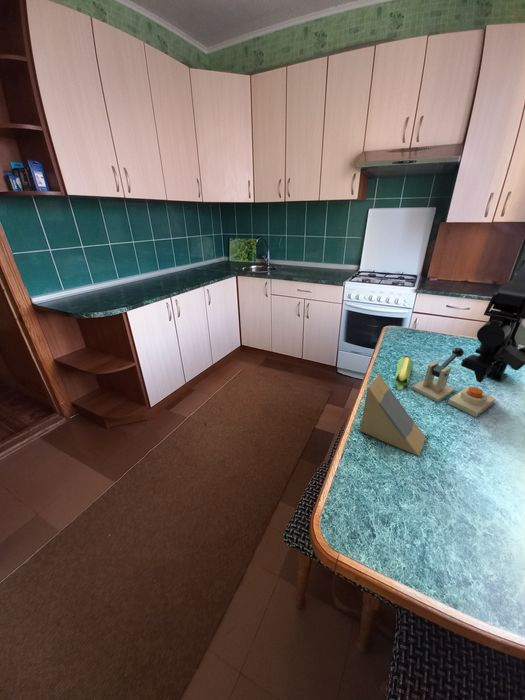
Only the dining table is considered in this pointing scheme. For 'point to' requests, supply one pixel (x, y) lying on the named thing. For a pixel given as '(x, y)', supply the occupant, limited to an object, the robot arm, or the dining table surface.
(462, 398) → the control block
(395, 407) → the sandwich container
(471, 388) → the button
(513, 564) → the dining table surface
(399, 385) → the edible corn
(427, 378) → the lever stand
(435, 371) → the black lever handle
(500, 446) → the dining table surface
